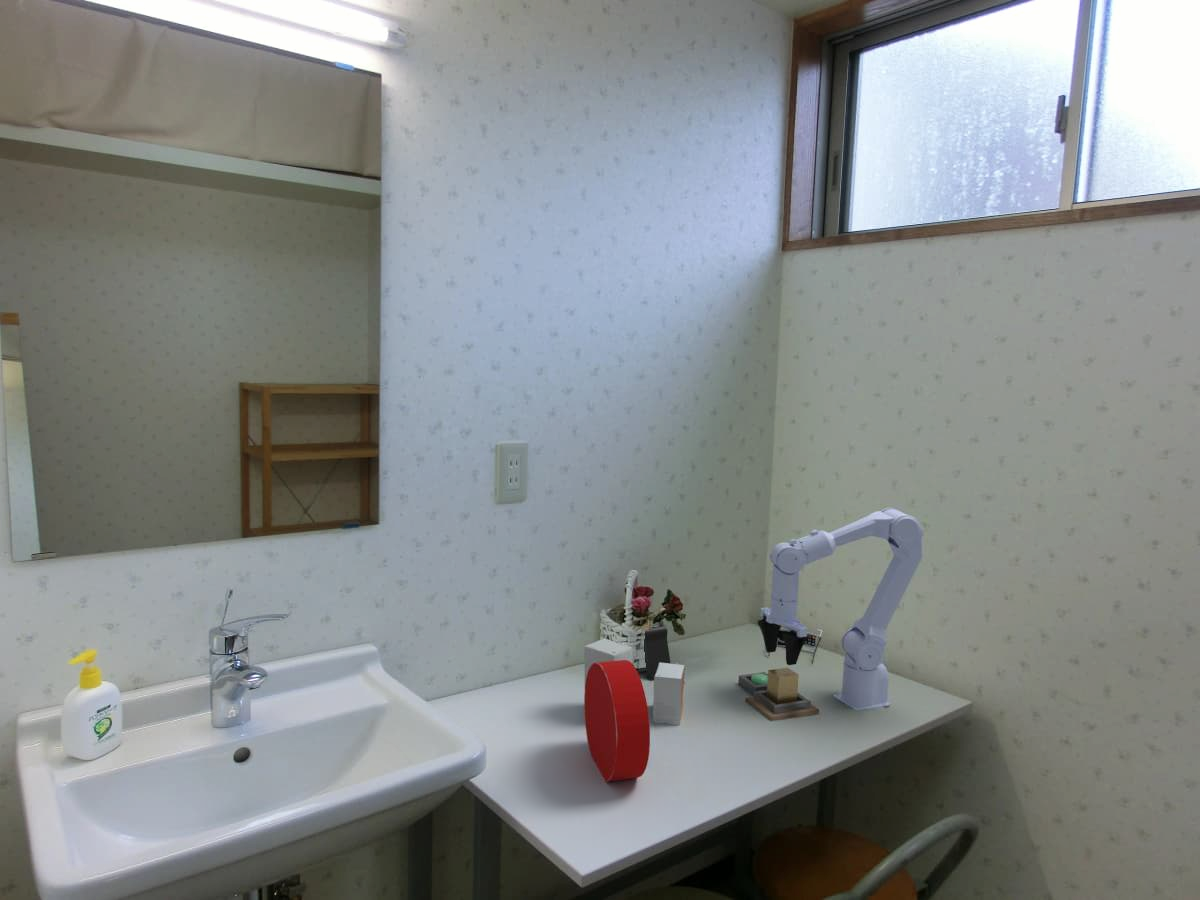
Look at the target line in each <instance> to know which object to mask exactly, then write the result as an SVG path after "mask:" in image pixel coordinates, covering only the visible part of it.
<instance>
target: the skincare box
mask: <svg viewBox="0 0 1200 900" xmlns="http://www.w3.org/2000/svg"><path fill="white" fill-rule="evenodd" d="M633 648H634V647H632V646H629V645H626V644H623V643H619V642H616V641H613V640H610V639H608V638H602V639H600V640H597V641H594V642H592V643H589V644H587V645H584V649H583V650H584V684H585V683H586V677H587V673H588V670H589V668H590V666H591V665H592V664H593V663H595V662H607V661H619V660H628V661H630V662H631V663H632V664H633V661H634V657H633V653H634V652H633Z"/></svg>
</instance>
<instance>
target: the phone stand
mask: <svg viewBox="0 0 1200 900" xmlns="http://www.w3.org/2000/svg"><path fill="white" fill-rule="evenodd" d="M659 625H660V626H658V627H652V628H650V629H648V630H645V639H644V652H645V663H646V668H645V670H646V671H645V672H646V678H647V679H648V681H650V682H652V681H653V682H654V676H655V674H656V672H657V669H658V665H659V663H669V664H672V663H671V656H670V651H669V650H670V649H669V643H668V628H667V626H666V625H664V623H662V624H661V623H660V624H659Z"/></svg>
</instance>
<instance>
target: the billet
mask: <svg viewBox="0 0 1200 900" xmlns="http://www.w3.org/2000/svg"><path fill="white" fill-rule="evenodd" d="M767 674H768V682H767V698H768V699H770V700H771V701H772V702H774V703H775V704H776V705H778V704H784V703H790V702H797V693H799V692H798V690H799V688H798V687H799V676H800V675H799V673H797V672H795V671H794V670H792V669H791V668H789V667H782V668H781V667H780V668H774V669H769V670H767Z"/></svg>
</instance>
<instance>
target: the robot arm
mask: <svg viewBox="0 0 1200 900" xmlns="http://www.w3.org/2000/svg"><path fill="white" fill-rule="evenodd" d="M924 535H925V532H924V530H923V527H922V526H921V524H920V522H919V520H918V519H917V518H916V517H914V516H912V515H910V514H906V513H904V512H902V511H900V510H899V509H897V508H895V507H887V508H886V507H885V508H884V509H881V511H880V510H877V511H874V512H872V513H870V514H868V515H867V516H865V517H862V518H861V519H858V520H855V521H853V522H851V523H849V524H847V525H844V526H842V527H840V528H837V529H835V530H833V531H831V532H827V531H825V530H823V529H822V530H818V529H813V530H811V531H810V534H807V535H805V536H803V537H800V538H796V539H795V538H791V539H790V540H789V541H790V543H789V542H786V541H785V542H784V541H783V542H780V543H777V544H776V545H775V546H774V547H773V548H772V550H771V553H769V558H770V562H771V563H772V575H771V576H772V577H771V593H770V607H761V608H760V614H759V615H760V617H761V618H762V619H758V620H757V625H758V626H759V629H760V631H761V634H762V637H763V642H764V646H765V652H766V653H767V654H769V653H770V654H771V653H776V651H777V646H778V645H777V642H778V635H779V631H780V628H781V627H783V628H785V629H788V630H790V633H783V634H782V636H783V639H784V642H785V646H784V647H785V663H786V665H788V666H794V665H797V662H798V660H799V656H800V653H801V651H802V649H803V647H804V644H805V642H806V641H807V640H808V638H809V635H810V634H809V635H808V634H807V632H808V627H807V626H805V625H804V624H803V622H801V621H800V620H799V619H798V617H797V616H798V615H797V614H798V599H799V586H800V585H799V581H800V579H799V576H800V572H801V570H802V569H803V568H804V565H805V566H806V565H808V564H811V563H814V562H816V561H819V560H822V559H825V558H827V557H830V556H832V555H833V554H834V552H835V550H836V548H837V547H840V546H843V545H846V544H850V543H853V542H856V541H859V540H862V539H864V538H865V539H866V538H868V537H876V538H880V539H885V540H887V542H888V544H889V548H890V549H891V552H892V554H893V556H892V558H891V560H890V563H889V564H888V565H887V568H886V570H885V572H884V574H883V575H882V578H881V579H880V582H879V583H878V586H877V588H876V589H875V592H874V593H873V596H872V597H871V600H870V602H869V603H868V606H867V607H866V610H865V612H864V613H863V616H862V617H861V618H859V619H856V621H854V622H853V624H852V626H851V627H850V628H849V629H848V630H846V631H845V632H844V634H843V636H842V638H841V641H840V642H841V647H842V650H843V651H844V652H845V655H844V659H843V671H842V672H843V673H842V688H841V689H842V690H841V693H837V694H833V697H834V698H836V699H837V700H839V701H841V702H842V703H844V704H845V705H847V706H849V707H850V708H852V709H854V710H855V711H860V710H865V709H871V708H878V707H883V708H886V707H890V705H891V703H889V702H888V697H889V696H888V695H889V679H890V677H889V676H890V675H889V672H888V669H887V667H886V665H885V664H884V663H883V660H884V655H885V653H884V651H885V647H886V645H887V643H888V642H887V635H886V634H887V631H886V630H887V628H888V626H889V624H890V622H891V620H892V618H893V617H894V614H895V613H896V610H897V608H898V606H899V604H900V602H901V601H902V599H903V596H904V594H905V592H906V591H907V589H908V587H909V585H910V583H911V581H912V579H913V576H914V575H915V573H916V571H917V569H918V567H919V566H920V563H921V561H922V558H923V555H922V554H923V548H922V547H923V546H922V543H923V542H922V541H923V540H922V539H923V537H924Z"/></svg>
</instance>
